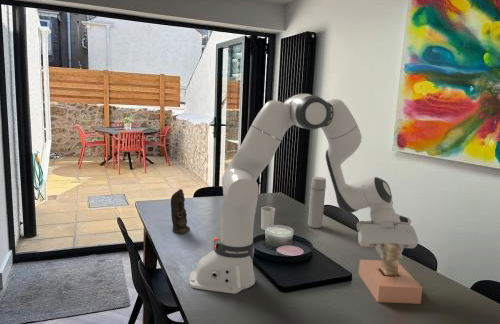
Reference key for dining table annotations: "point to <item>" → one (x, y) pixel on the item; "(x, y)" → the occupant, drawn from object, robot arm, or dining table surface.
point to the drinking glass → (267, 217)
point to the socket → (389, 283)
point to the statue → (179, 213)
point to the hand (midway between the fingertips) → (391, 258)
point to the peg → (391, 259)
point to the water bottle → (317, 202)
